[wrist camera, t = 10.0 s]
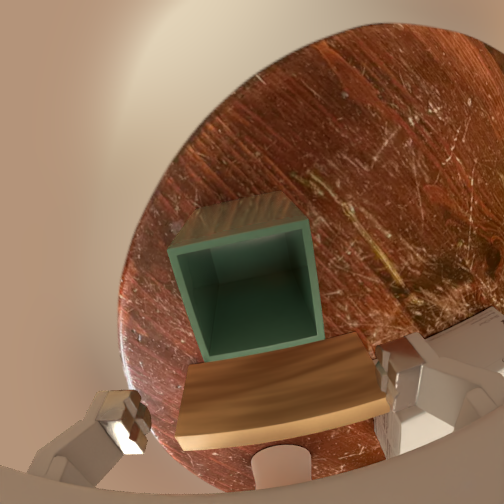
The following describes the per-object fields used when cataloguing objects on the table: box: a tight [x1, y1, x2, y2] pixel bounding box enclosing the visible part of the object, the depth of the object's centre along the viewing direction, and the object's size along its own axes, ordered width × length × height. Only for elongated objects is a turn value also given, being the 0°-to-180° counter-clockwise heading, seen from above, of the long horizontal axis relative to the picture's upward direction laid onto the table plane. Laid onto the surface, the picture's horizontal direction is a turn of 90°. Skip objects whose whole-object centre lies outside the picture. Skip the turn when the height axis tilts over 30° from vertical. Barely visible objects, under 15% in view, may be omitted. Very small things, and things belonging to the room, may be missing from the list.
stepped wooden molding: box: [175, 332, 390, 451], centre depth 25 cm, size 6×16×9 cm, turn 102°
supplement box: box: [372, 306, 504, 459], centre depth 26 cm, size 17×13×9 cm
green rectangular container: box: [167, 190, 325, 363], centre depth 20 cm, size 12×7×12 cm
